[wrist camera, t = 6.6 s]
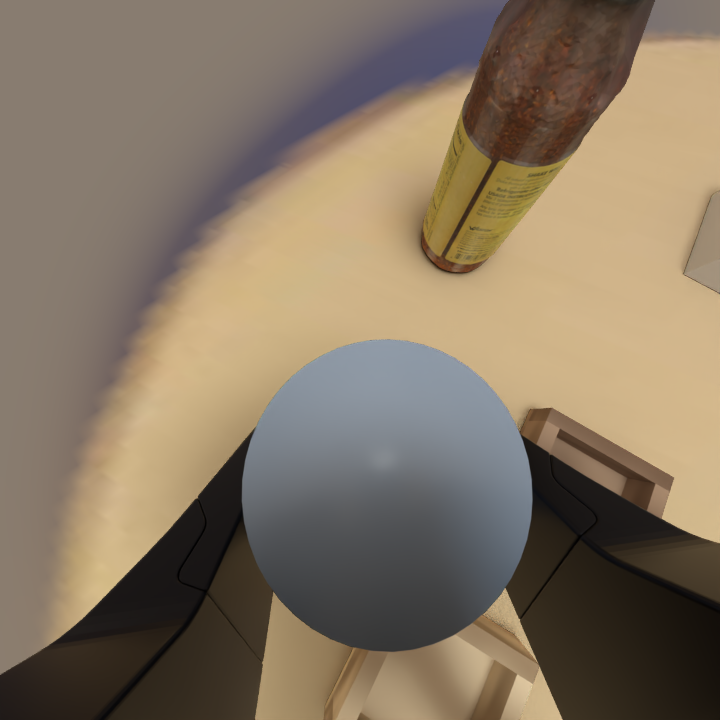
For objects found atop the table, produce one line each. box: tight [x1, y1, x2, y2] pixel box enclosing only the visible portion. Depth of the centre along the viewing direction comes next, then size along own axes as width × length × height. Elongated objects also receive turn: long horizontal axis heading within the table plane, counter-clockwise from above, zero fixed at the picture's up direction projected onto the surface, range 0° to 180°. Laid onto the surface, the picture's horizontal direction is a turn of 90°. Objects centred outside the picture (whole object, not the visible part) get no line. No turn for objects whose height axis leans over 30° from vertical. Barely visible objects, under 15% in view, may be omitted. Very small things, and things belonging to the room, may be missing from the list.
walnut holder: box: [520, 408, 674, 518], centre depth 20 cm, size 9×9×2 cm
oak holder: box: [324, 615, 539, 720], centre depth 17 cm, size 9×9×2 cm
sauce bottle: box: [422, 0, 655, 272], centre depth 15 cm, size 6×6×20 cm
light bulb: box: [242, 339, 533, 652], centre depth 10 cm, size 5×5×11 cm
